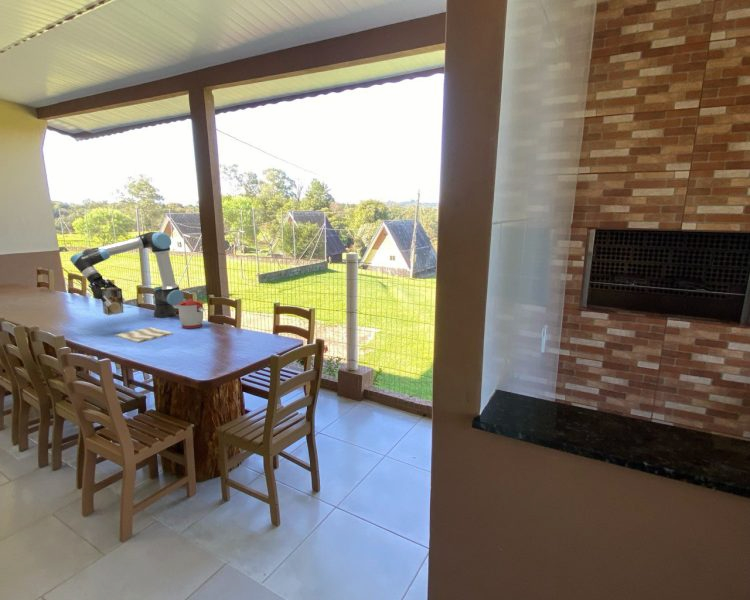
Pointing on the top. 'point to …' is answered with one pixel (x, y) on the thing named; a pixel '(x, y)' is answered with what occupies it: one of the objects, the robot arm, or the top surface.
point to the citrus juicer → (191, 313)
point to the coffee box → (113, 300)
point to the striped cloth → (144, 334)
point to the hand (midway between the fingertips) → (116, 303)
